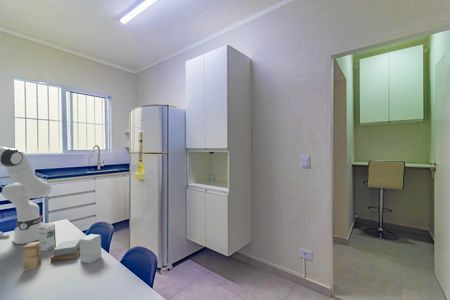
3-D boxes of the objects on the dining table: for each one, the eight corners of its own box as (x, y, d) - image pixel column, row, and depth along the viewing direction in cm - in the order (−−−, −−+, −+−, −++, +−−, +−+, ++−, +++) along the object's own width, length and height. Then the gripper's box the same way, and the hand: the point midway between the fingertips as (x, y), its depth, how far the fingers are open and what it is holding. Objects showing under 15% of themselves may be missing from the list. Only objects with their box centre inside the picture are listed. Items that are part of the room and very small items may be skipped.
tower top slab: (61, 247, 125) (61, 242, 125) (80, 245, 128) (80, 239, 128) (53, 256, 116) (53, 249, 115) (74, 253, 119) (74, 246, 119)
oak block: (29, 265, 112) (28, 242, 112) (41, 263, 114) (40, 241, 113) (23, 270, 107) (22, 247, 107) (35, 268, 109) (34, 245, 109)
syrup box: (46, 251, 127) (46, 227, 127) (38, 250, 128) (38, 226, 128) (56, 246, 133) (55, 223, 133) (48, 246, 134) (47, 223, 134)
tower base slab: (60, 253, 126) (60, 247, 126) (84, 250, 129) (83, 244, 129) (50, 263, 114) (50, 257, 114) (76, 260, 118) (76, 253, 118)
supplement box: (101, 257, 120) (101, 234, 119) (90, 264, 112) (89, 240, 112) (91, 255, 122) (91, 233, 122) (79, 262, 115) (78, 238, 114)
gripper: (-56, 247, 92) (-15, 242, 96) (-18, 230, 112) (15, 227, 116) (-56, 261, 92) (-15, 256, 96) (-18, 242, 112) (15, 239, 116)
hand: (1, 240), depth 106 cm, fingers open, 8 cm apart
